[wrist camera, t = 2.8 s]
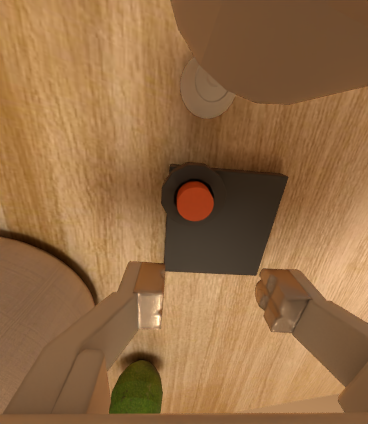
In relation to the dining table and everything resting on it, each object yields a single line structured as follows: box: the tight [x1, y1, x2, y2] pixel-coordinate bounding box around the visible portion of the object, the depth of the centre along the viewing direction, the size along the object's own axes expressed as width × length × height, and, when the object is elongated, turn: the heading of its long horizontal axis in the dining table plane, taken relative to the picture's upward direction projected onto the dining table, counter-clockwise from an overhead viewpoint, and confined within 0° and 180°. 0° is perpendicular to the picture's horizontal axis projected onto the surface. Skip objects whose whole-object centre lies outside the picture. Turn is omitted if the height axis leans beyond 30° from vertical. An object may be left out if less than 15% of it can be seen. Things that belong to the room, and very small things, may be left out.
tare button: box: [177, 181, 214, 221], centre depth 17 cm, size 3×3×2 cm
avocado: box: [109, 360, 163, 414], centre depth 28 cm, size 8×8×12 cm
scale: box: [161, 162, 288, 276], centre depth 20 cm, size 14×12×3 cm
